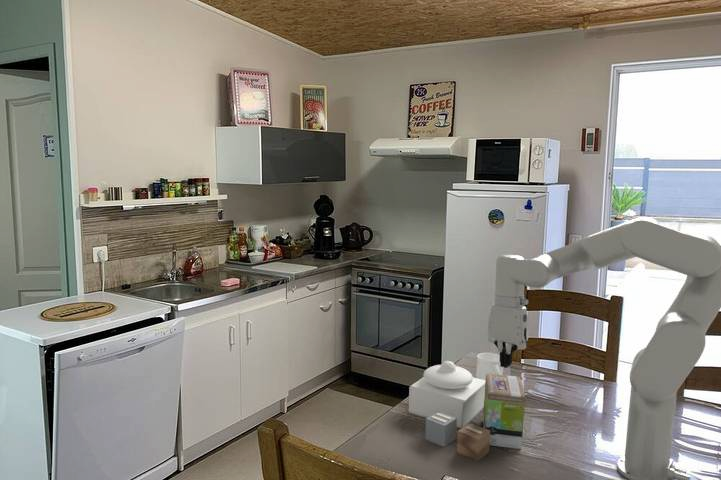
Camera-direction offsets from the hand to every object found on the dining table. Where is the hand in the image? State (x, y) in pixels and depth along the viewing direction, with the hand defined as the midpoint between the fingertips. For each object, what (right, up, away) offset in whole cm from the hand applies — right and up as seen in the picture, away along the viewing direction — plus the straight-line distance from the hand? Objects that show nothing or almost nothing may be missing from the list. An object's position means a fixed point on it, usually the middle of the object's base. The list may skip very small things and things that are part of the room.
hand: (505, 365), depth 144 cm
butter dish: (-13, -18, +17) cm, 28 cm away
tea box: (0, -20, +3) cm, 20 cm away
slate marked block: (-18, -20, -1) cm, 27 cm away
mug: (+4, -16, +33) cm, 37 cm away
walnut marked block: (-10, -21, -7) cm, 24 cm away
